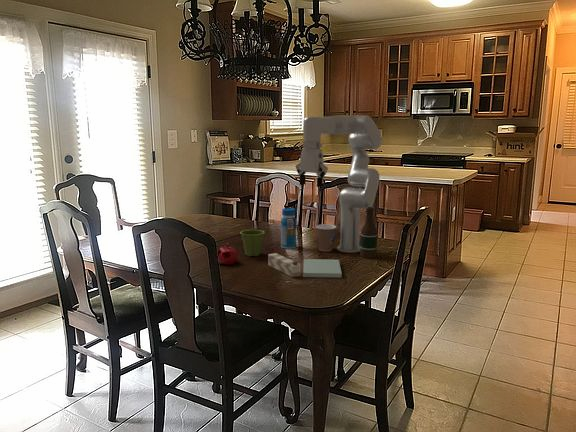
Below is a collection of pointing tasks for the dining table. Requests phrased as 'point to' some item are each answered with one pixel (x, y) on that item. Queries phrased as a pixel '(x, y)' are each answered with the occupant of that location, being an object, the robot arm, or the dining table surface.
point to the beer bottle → (368, 236)
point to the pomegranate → (227, 255)
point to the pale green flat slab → (321, 268)
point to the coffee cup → (326, 236)
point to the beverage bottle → (288, 228)
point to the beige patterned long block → (284, 265)
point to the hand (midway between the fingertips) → (310, 185)
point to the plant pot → (252, 241)
